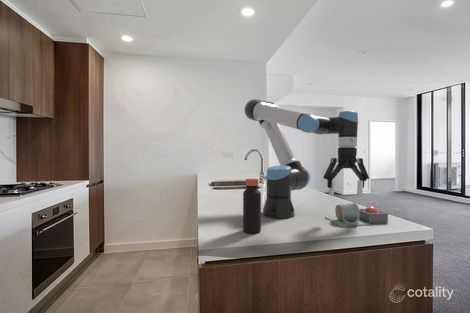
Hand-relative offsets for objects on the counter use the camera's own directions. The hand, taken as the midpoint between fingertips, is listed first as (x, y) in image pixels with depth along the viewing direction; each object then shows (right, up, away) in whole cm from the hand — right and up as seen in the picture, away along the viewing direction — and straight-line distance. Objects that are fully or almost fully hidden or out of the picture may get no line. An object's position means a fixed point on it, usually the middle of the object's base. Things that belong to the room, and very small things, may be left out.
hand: (345, 195), depth 106 cm
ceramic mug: (0, -11, -2) cm, 11 cm away
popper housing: (+12, -11, +2) cm, 17 cm away
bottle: (-42, -12, -13) cm, 46 cm away
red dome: (+12, -11, +2) cm, 16 cm away
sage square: (0, -11, 0) cm, 11 cm away
